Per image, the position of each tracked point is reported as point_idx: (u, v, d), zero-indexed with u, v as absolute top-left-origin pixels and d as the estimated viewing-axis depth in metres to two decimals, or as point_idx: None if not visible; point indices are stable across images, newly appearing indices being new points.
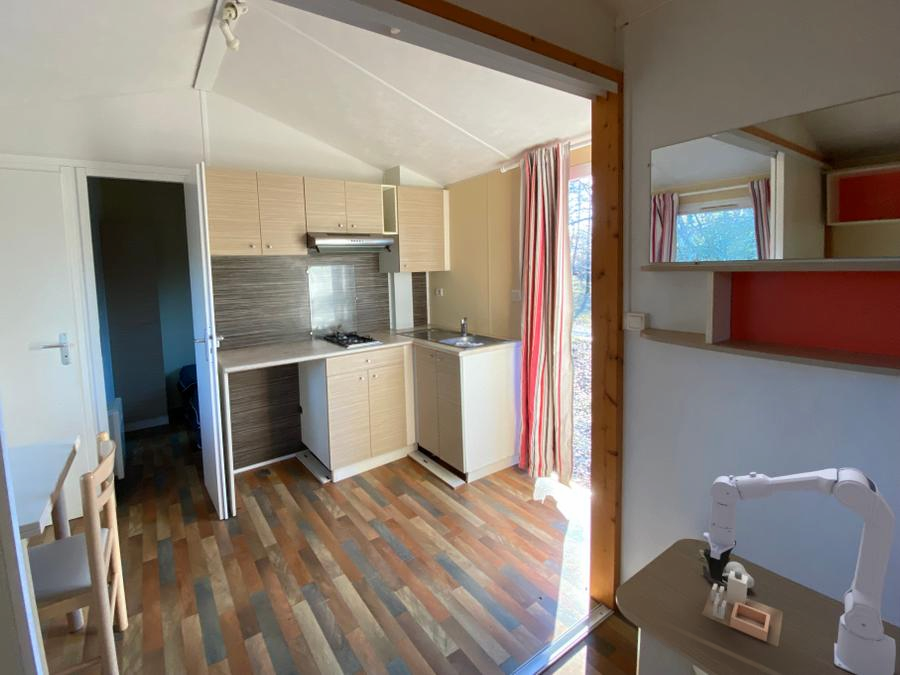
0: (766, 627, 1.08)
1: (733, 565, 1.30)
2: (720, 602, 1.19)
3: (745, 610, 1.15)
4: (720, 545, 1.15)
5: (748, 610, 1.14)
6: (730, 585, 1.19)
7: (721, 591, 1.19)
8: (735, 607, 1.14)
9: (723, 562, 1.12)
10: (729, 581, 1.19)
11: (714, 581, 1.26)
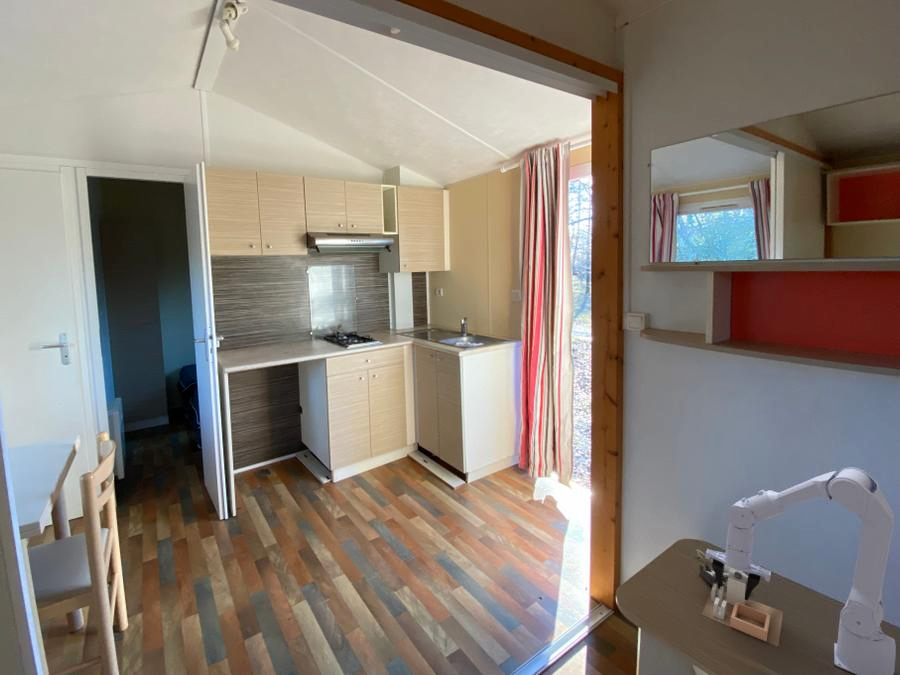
0: (766, 627, 1.08)
1: None
2: (720, 602, 1.19)
3: (745, 610, 1.15)
4: (723, 557, 1.21)
5: (748, 610, 1.14)
6: (730, 585, 1.19)
7: (721, 591, 1.19)
8: (735, 607, 1.14)
9: None
10: (729, 581, 1.19)
11: (710, 581, 1.26)
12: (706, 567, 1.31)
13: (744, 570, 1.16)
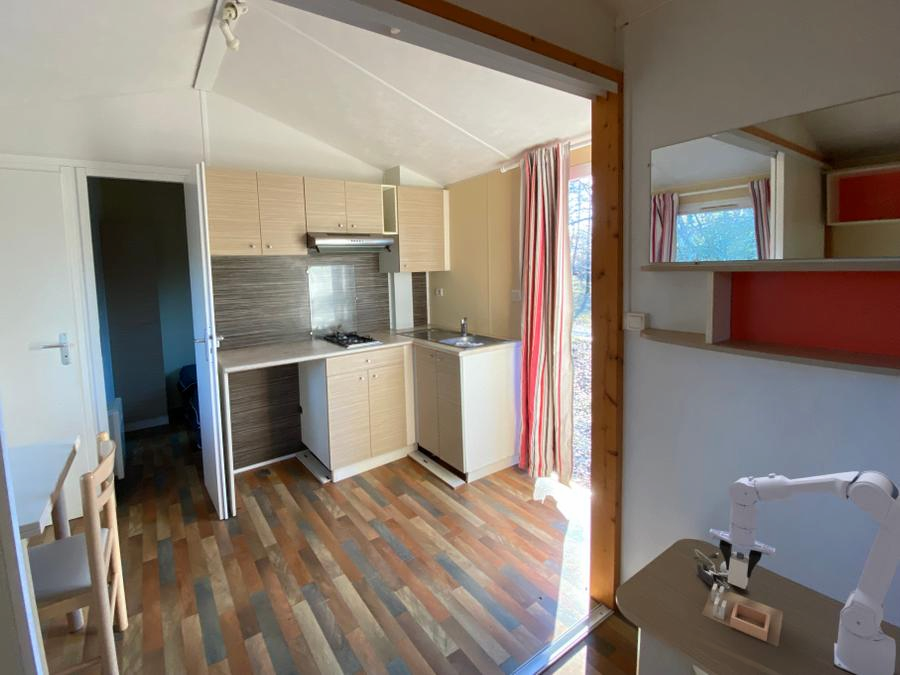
0: (766, 627, 1.08)
1: None
2: (720, 602, 1.19)
3: (745, 610, 1.15)
4: (727, 536, 1.20)
5: (748, 610, 1.14)
6: (732, 565, 1.18)
7: (721, 591, 1.19)
8: (735, 607, 1.14)
9: None
10: (731, 561, 1.18)
11: (708, 580, 1.26)
12: (704, 567, 1.32)
13: (748, 548, 1.15)
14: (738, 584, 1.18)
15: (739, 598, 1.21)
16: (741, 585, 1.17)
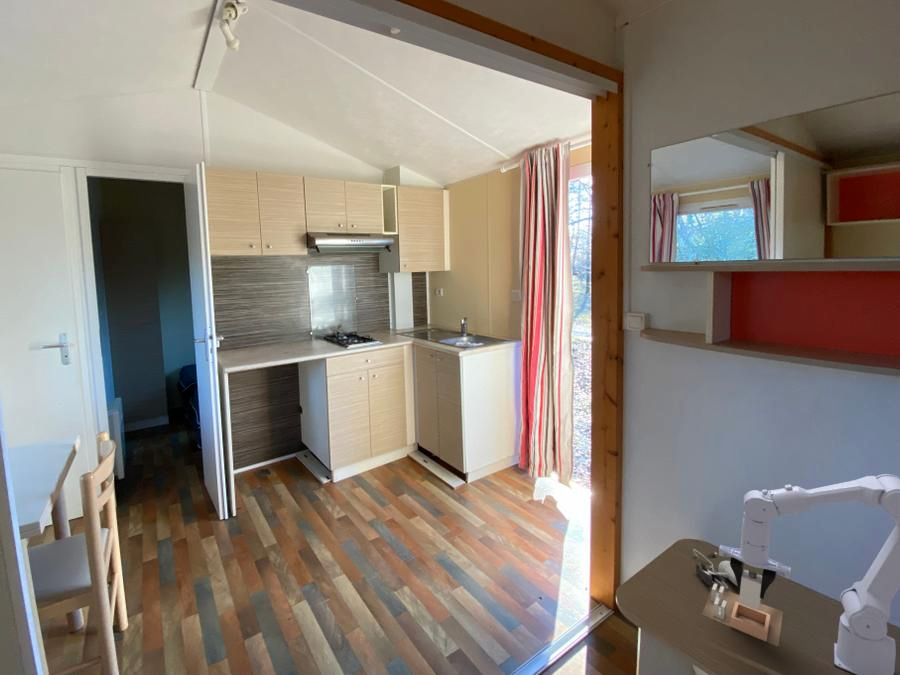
0: (766, 627, 1.08)
1: (726, 564, 1.31)
2: (720, 602, 1.19)
3: (745, 610, 1.15)
4: (738, 554, 1.12)
5: (748, 610, 1.14)
6: (744, 585, 1.10)
7: (721, 591, 1.19)
8: (735, 607, 1.14)
9: None
10: (743, 581, 1.10)
11: (706, 580, 1.26)
12: (702, 566, 1.32)
13: (761, 567, 1.07)
14: (750, 605, 1.10)
15: None
16: (754, 607, 1.09)
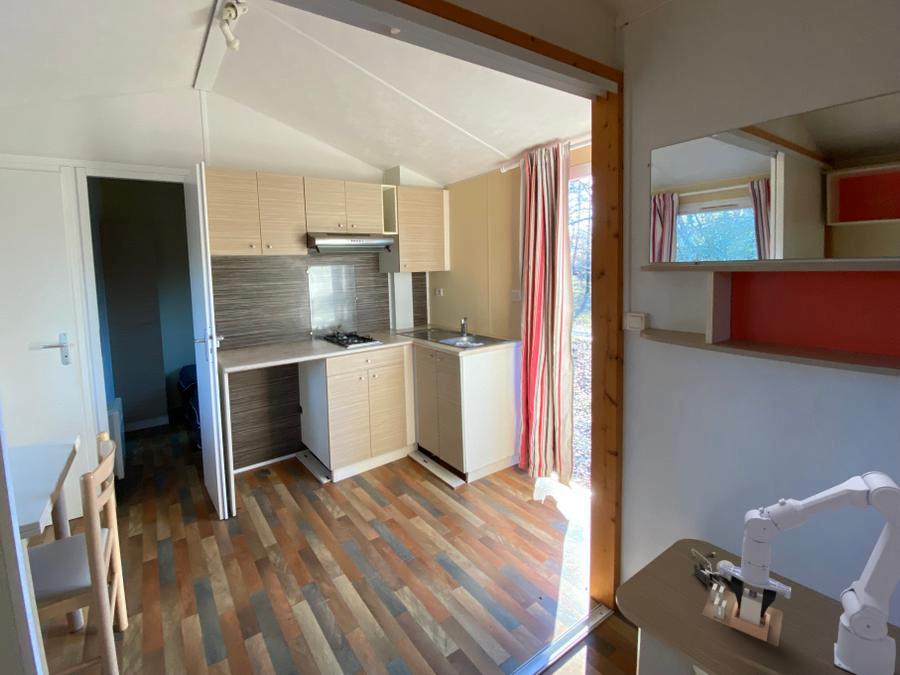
0: (766, 627, 1.08)
1: None
2: (720, 602, 1.19)
3: None
4: (738, 573, 1.12)
5: None
6: (744, 604, 1.10)
7: (721, 591, 1.19)
8: (735, 607, 1.14)
9: None
10: (743, 600, 1.10)
11: (704, 579, 1.26)
12: (700, 566, 1.32)
13: (762, 586, 1.07)
14: None
15: None
16: None
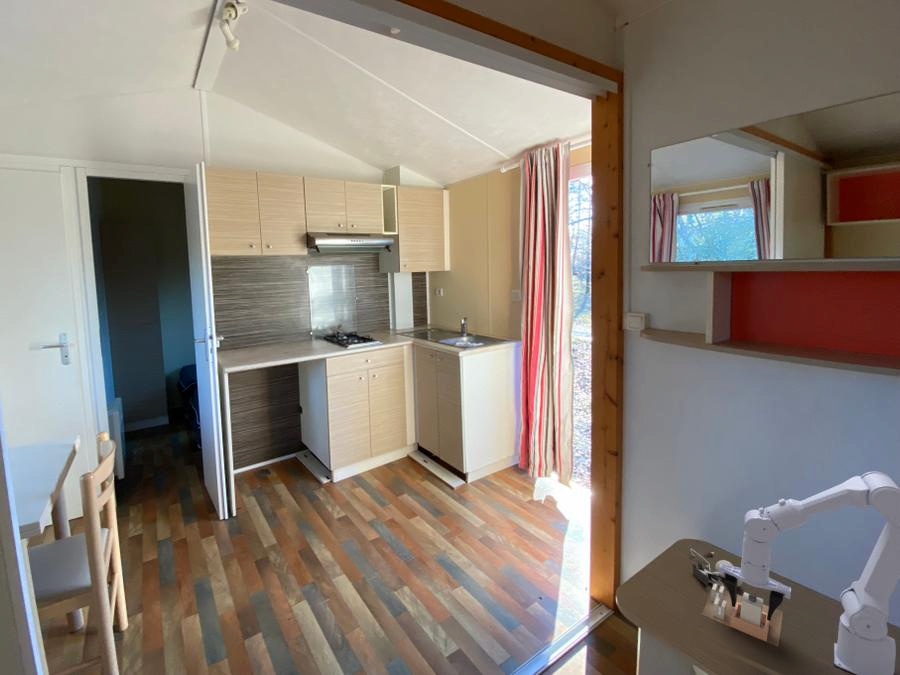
0: (766, 627, 1.08)
1: None
2: (720, 602, 1.19)
3: None
4: (738, 573, 1.12)
5: None
6: (744, 609, 1.10)
7: (721, 591, 1.19)
8: (735, 607, 1.14)
9: None
10: (743, 604, 1.10)
11: (703, 579, 1.27)
12: (699, 566, 1.32)
13: (762, 587, 1.07)
14: None
15: (739, 598, 1.21)
16: None
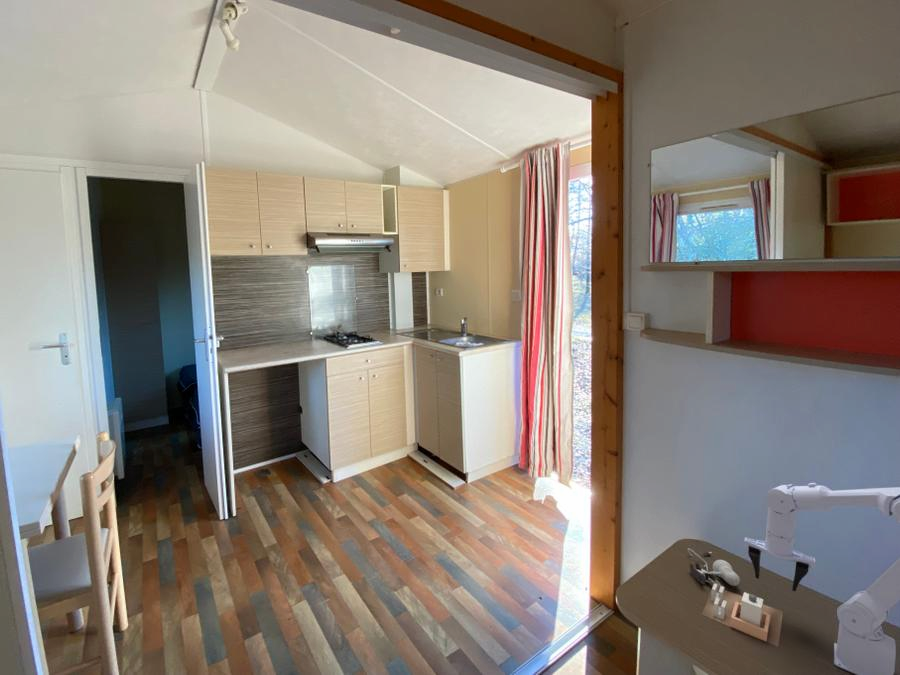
0: (766, 627, 1.08)
1: (720, 563, 1.31)
2: (720, 602, 1.19)
3: None
4: (763, 545, 1.16)
5: None
6: (744, 609, 1.10)
7: (721, 591, 1.19)
8: (735, 607, 1.14)
9: (748, 553, 1.17)
10: (743, 604, 1.10)
11: (700, 579, 1.27)
12: (696, 565, 1.32)
13: (787, 558, 1.11)
14: None
15: (739, 598, 1.21)
16: None
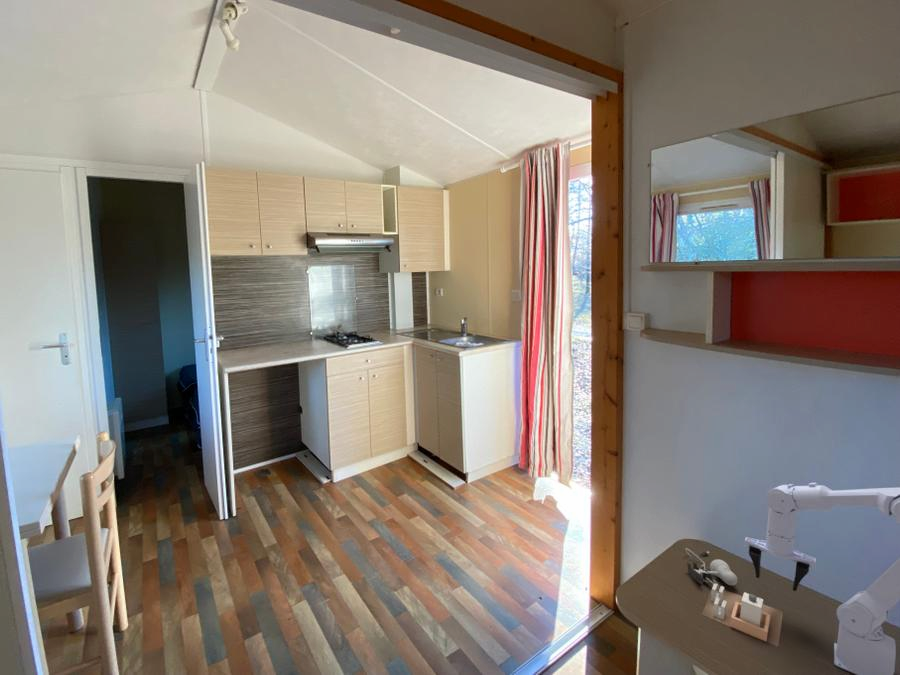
0: (766, 627, 1.08)
1: (717, 563, 1.31)
2: (720, 602, 1.19)
3: None
4: (763, 545, 1.16)
5: None
6: (744, 609, 1.10)
7: (721, 591, 1.19)
8: (735, 607, 1.14)
9: None
10: (743, 604, 1.10)
11: (698, 578, 1.27)
12: (694, 565, 1.32)
13: (787, 557, 1.11)
14: None
15: (739, 598, 1.21)
16: None
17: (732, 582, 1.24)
